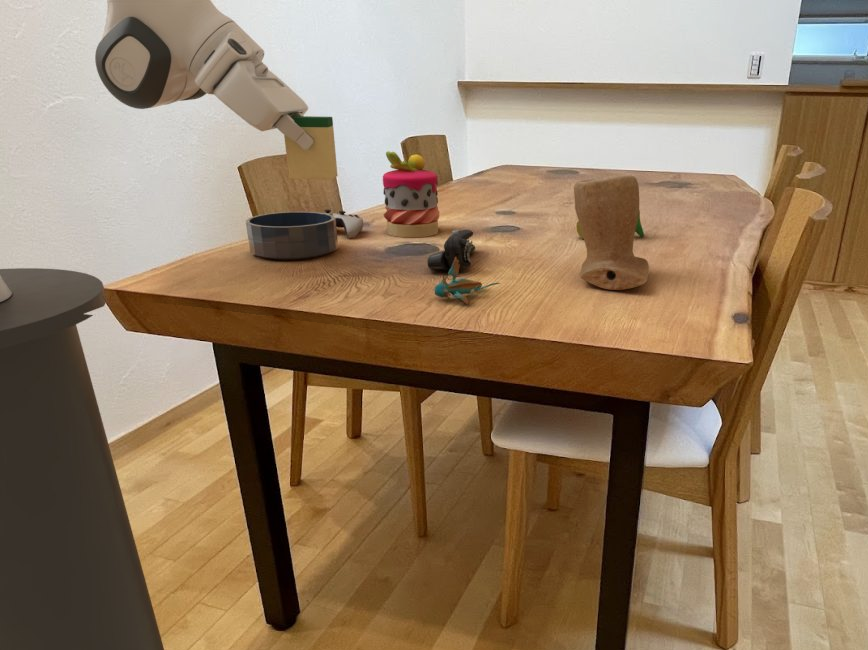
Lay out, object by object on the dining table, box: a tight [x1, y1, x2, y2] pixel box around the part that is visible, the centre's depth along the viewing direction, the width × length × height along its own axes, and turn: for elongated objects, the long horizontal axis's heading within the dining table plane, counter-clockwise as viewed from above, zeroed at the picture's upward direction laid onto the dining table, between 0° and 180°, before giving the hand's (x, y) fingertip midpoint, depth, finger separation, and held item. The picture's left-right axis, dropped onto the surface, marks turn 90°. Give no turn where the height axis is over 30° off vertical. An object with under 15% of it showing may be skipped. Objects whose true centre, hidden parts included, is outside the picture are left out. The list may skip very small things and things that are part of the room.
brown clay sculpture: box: [573, 174, 650, 291], centre depth 96 cm, size 15×12×15 cm
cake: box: [382, 151, 440, 238], centre depth 126 cm, size 10×11×15 cm
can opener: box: [427, 229, 476, 271], centre depth 106 cm, size 18×7×6 cm, turn 171°
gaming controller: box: [323, 209, 364, 239], centre depth 126 cm, size 11×6×7 cm
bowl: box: [245, 211, 339, 261], centre depth 111 cm, size 14×14×6 cm
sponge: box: [283, 115, 338, 180], centre depth 92 cm, size 6×4×8 cm, turn 94°
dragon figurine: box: [433, 257, 501, 305], centre depth 89 cm, size 6×7×8 cm
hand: (315, 144), depth 92 cm, fingers closed on sponge, 4 cm apart
